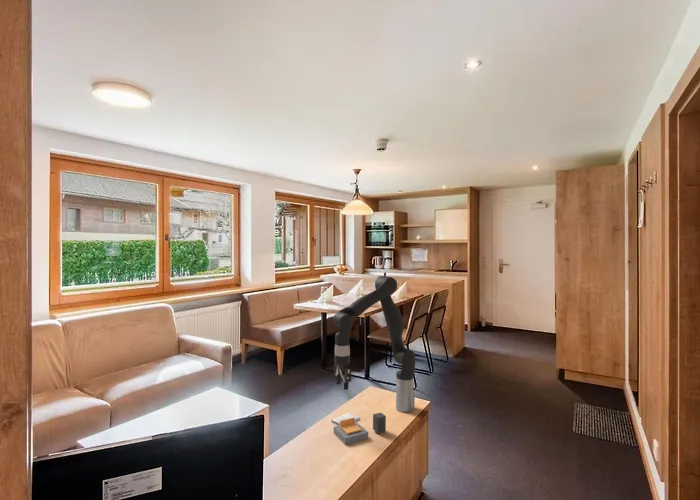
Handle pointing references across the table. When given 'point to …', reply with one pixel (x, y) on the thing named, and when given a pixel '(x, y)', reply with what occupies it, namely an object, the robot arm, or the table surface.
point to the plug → (379, 422)
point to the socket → (350, 435)
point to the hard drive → (346, 416)
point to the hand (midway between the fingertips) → (342, 386)
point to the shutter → (349, 426)
